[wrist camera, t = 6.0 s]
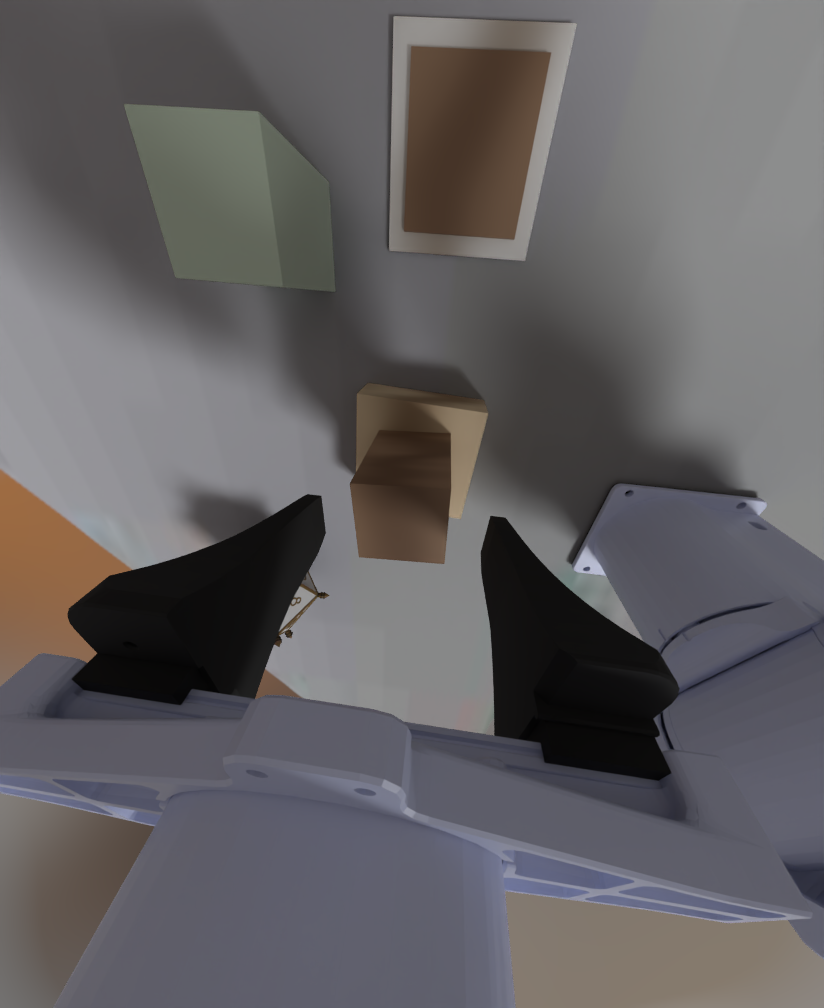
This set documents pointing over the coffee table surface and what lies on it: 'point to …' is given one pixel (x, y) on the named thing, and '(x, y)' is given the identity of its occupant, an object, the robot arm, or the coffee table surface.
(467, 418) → the oak base block
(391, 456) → the walnut block
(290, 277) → the sage green block
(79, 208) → the coffee table surface
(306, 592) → the game die
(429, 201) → the swatch
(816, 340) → the coffee table surface
